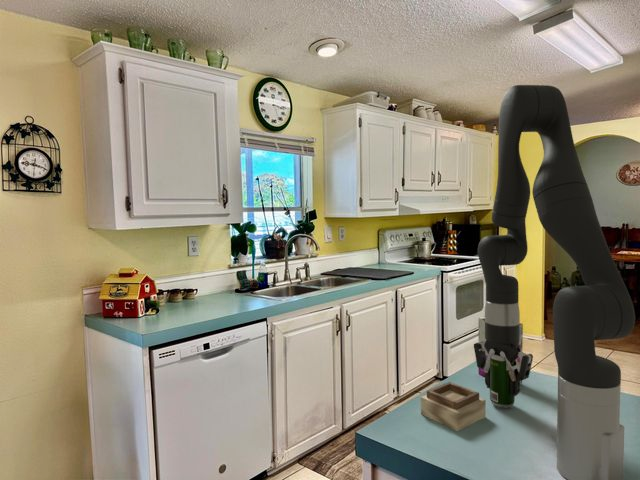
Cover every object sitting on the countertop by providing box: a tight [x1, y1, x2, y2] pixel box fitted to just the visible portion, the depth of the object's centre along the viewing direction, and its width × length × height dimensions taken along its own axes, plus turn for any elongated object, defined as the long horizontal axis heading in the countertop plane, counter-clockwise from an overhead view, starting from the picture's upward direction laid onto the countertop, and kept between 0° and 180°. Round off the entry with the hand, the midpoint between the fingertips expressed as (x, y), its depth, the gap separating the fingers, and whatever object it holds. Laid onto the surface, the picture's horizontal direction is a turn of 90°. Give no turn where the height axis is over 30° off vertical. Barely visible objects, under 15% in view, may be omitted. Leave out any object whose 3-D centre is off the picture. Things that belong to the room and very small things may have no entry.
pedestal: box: [420, 381, 487, 432], centre depth 99 cm, size 10×10×6 cm
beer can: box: [489, 353, 516, 408], centre depth 103 cm, size 5×5×12 cm
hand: (502, 391), depth 103 cm, fingers closed on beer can, 5 cm apart
